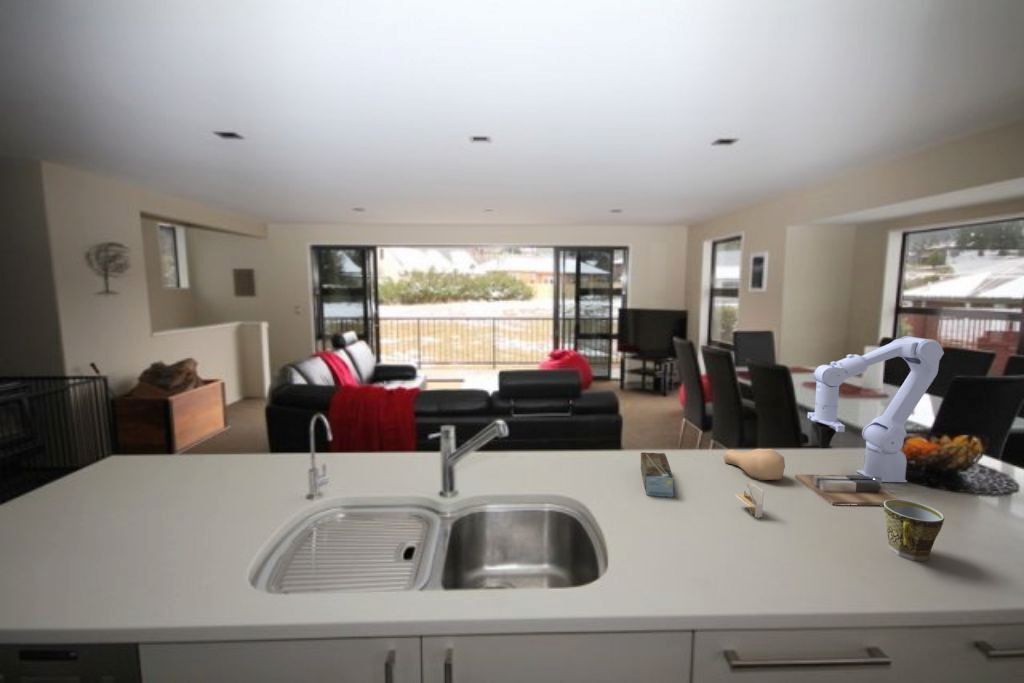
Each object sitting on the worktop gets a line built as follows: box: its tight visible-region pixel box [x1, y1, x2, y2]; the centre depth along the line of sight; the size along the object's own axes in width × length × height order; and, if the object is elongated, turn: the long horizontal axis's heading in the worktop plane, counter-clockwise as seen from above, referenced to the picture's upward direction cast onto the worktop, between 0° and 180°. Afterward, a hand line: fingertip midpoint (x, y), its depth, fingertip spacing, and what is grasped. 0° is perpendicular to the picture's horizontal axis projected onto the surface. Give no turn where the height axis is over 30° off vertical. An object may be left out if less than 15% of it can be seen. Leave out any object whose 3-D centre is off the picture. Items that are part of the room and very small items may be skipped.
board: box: [794, 473, 902, 507], centre depth 131 cm, size 19×18×1 cm
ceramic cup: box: [883, 499, 945, 562], centre depth 100 cm, size 13×10×10 cm
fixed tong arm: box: [819, 480, 879, 493], centre depth 129 cm, size 15×2×3 cm, turn 87°
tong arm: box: [813, 475, 883, 489], centre depth 132 cm, size 18×2×3 cm, turn 84°
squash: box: [723, 448, 786, 481], centre depth 145 cm, size 11×20×9 cm, turn 24°
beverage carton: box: [640, 452, 675, 498], centre depth 138 cm, size 8×19×7 cm, turn 168°
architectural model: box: [734, 481, 765, 519], centre depth 120 cm, size 3×7×7 cm, turn 4°
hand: (823, 447), depth 142 cm, fingers closed
